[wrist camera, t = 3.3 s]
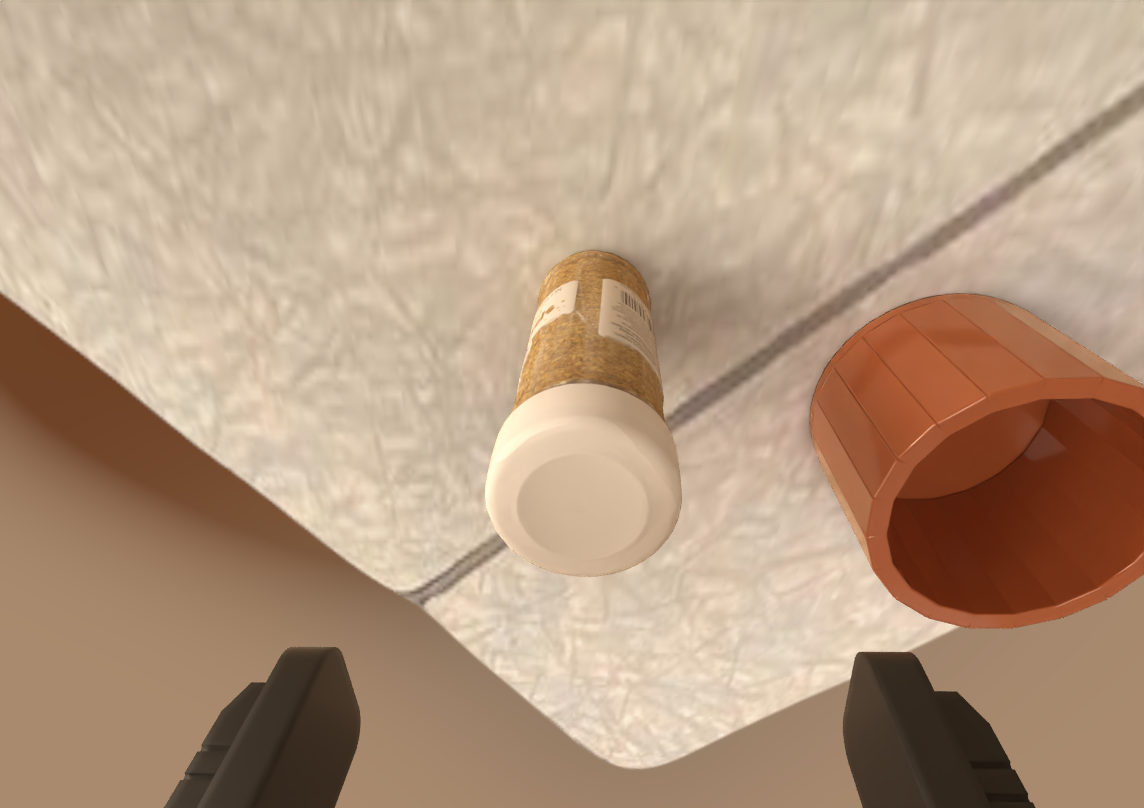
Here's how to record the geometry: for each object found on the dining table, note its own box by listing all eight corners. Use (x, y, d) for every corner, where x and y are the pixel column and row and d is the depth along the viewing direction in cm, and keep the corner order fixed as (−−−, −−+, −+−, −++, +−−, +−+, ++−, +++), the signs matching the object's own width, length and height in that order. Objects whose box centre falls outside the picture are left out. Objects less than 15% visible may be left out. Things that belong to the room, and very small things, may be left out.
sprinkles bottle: (525, 262, 26) (454, 442, 14) (640, 236, 26) (665, 403, 14) (554, 366, 28) (513, 598, 16) (661, 344, 28) (698, 570, 16)
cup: (797, 504, 31) (847, 628, 24) (824, 297, 26) (896, 382, 20) (1023, 502, 30) (1138, 629, 24) (1093, 288, 26) (1260, 373, 19)
